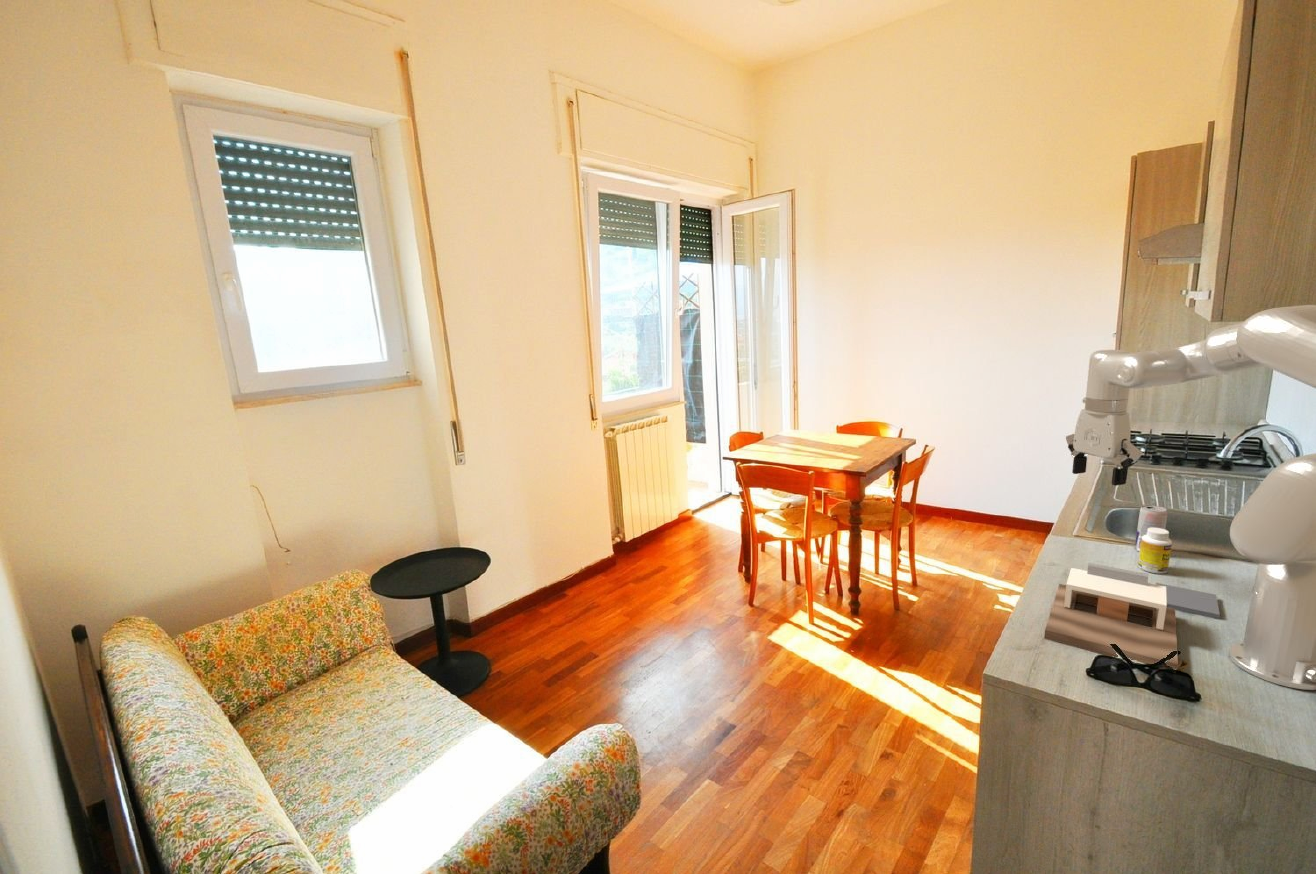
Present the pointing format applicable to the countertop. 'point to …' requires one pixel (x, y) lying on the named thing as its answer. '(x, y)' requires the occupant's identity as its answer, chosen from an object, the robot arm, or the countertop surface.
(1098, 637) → the puzzle board
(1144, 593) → the cream bridge stand
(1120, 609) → the block
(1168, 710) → the countertop surface
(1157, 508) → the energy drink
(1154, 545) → the supplement bottle
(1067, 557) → the countertop surface
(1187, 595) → the slate mat
